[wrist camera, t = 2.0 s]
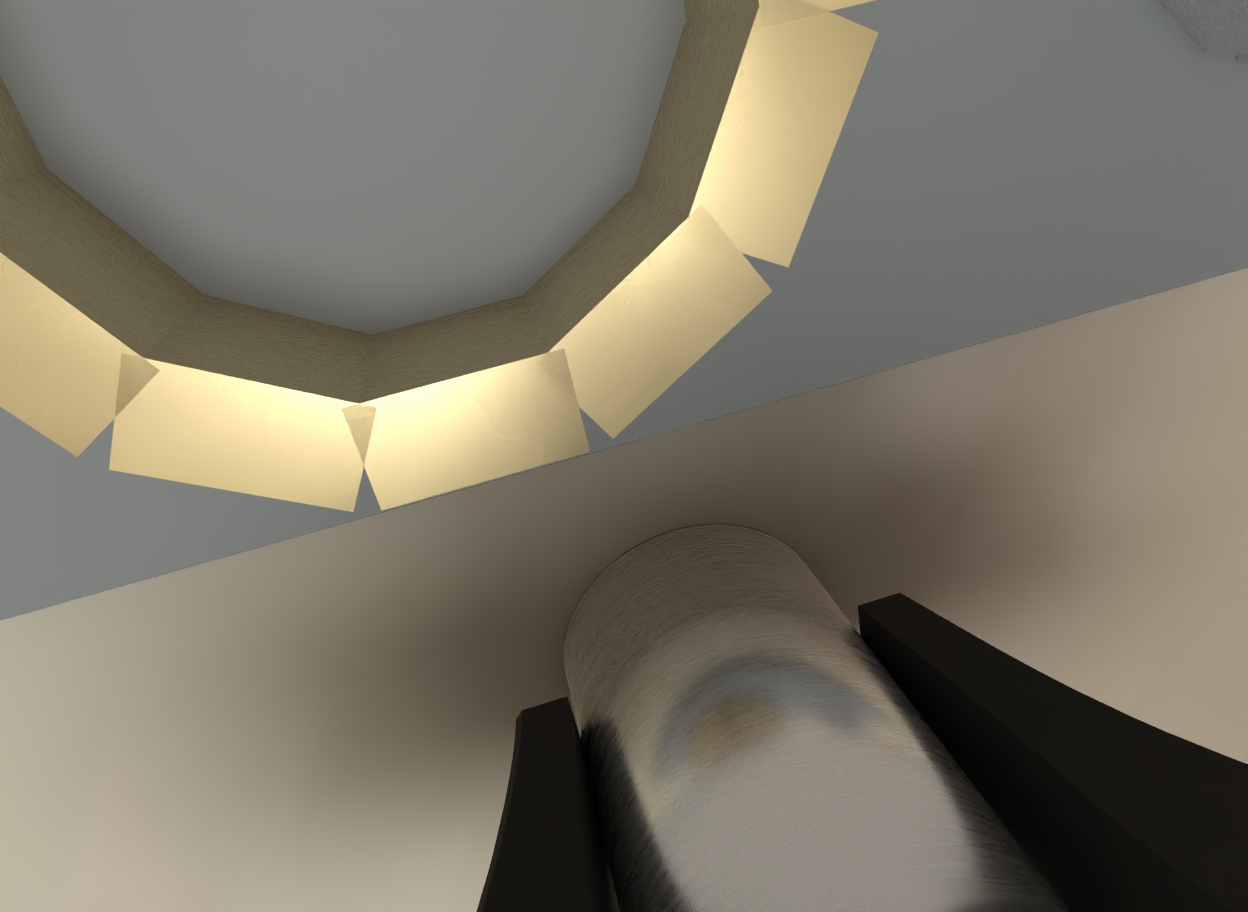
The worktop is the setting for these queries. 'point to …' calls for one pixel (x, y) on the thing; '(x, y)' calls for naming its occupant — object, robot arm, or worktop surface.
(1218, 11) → the narrow socket
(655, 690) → the metal cylinder peg
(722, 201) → the wide socket
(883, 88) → the fitting board
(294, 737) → the worktop surface
